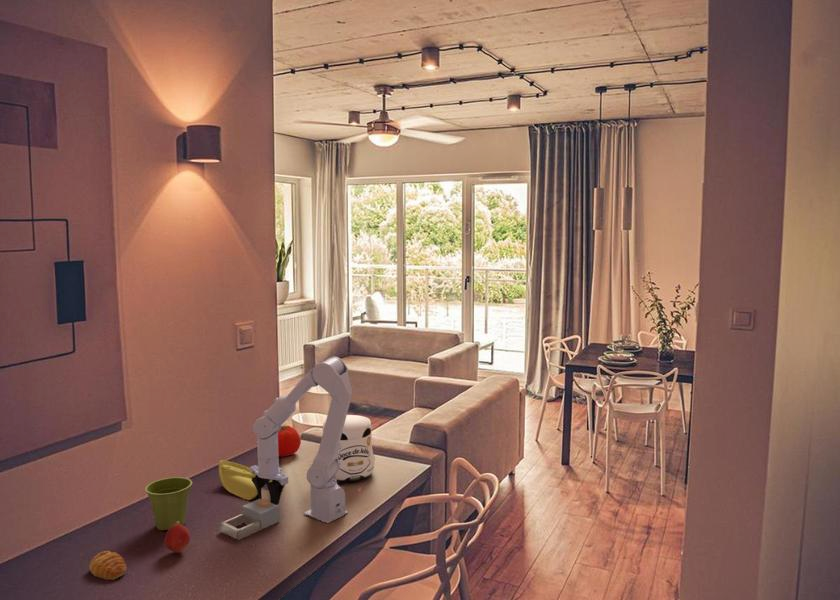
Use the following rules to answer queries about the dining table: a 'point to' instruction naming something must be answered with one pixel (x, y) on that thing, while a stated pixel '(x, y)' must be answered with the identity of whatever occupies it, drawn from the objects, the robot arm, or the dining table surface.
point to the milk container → (355, 449)
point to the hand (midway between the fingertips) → (269, 502)
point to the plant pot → (169, 500)
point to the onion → (177, 538)
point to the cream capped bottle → (265, 493)
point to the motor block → (262, 512)
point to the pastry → (108, 565)
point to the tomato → (288, 441)
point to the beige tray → (230, 524)
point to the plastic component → (237, 479)
